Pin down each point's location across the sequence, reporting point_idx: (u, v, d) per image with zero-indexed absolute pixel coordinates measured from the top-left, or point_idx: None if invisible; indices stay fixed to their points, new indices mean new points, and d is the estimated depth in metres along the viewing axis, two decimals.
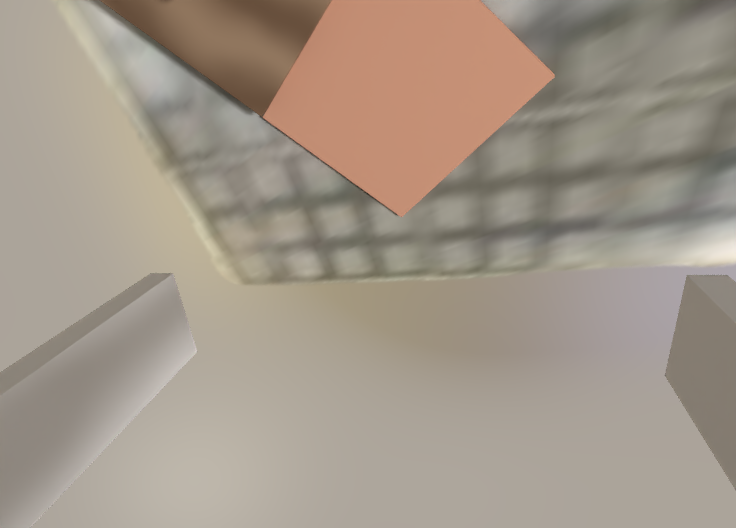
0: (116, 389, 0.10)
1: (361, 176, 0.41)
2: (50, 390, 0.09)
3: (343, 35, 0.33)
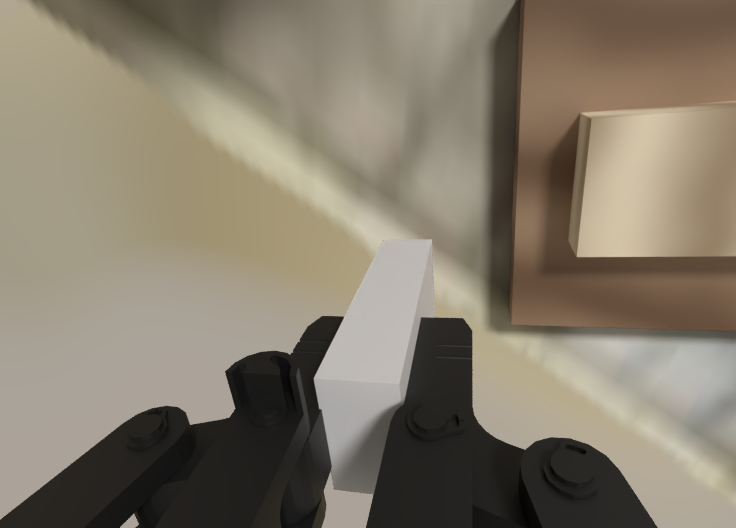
0: None
1: None
2: None
3: None
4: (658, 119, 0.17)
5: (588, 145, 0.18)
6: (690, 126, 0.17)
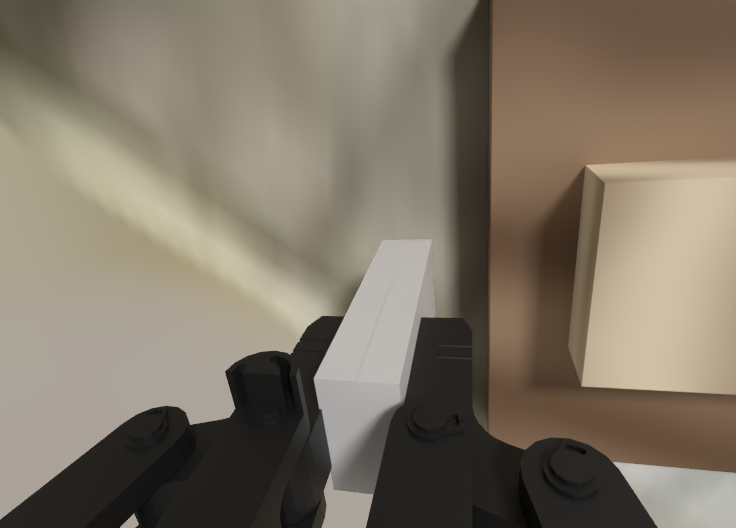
0: None
1: None
2: None
3: None
4: (721, 187, 0.10)
5: (599, 224, 0.11)
6: None
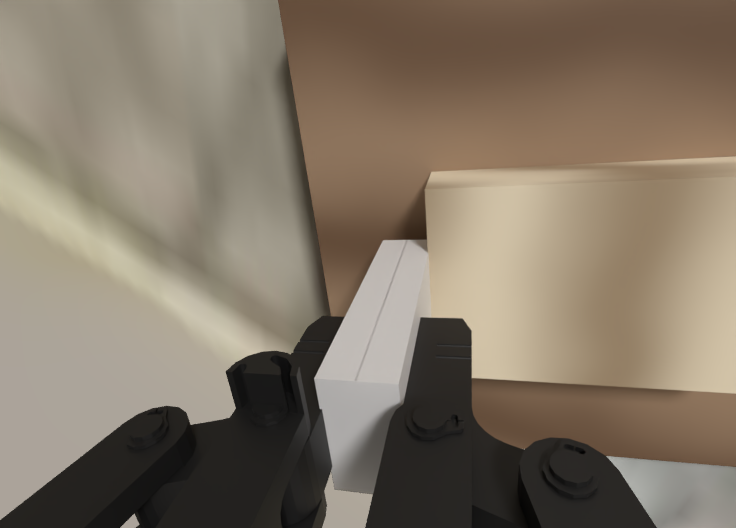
0: None
1: None
2: None
3: None
4: (521, 194, 0.11)
5: None
6: (570, 205, 0.11)
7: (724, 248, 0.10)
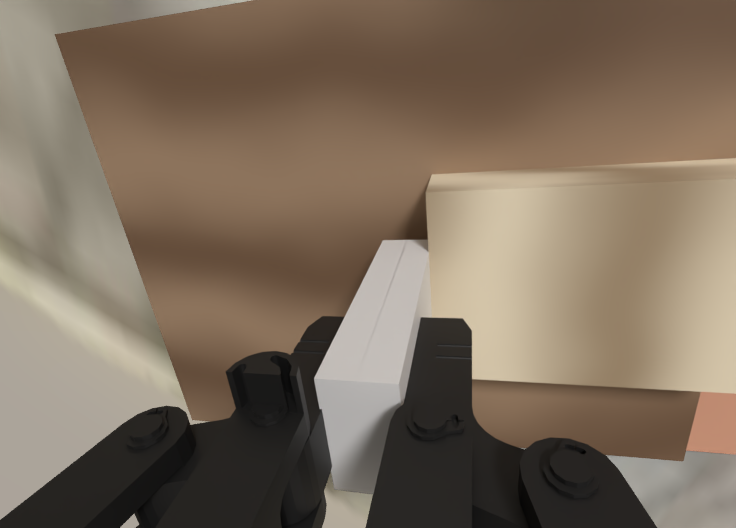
0: None
1: None
2: None
3: None
4: (521, 196, 0.11)
5: (427, 229, 0.12)
6: (569, 208, 0.11)
7: (723, 250, 0.10)
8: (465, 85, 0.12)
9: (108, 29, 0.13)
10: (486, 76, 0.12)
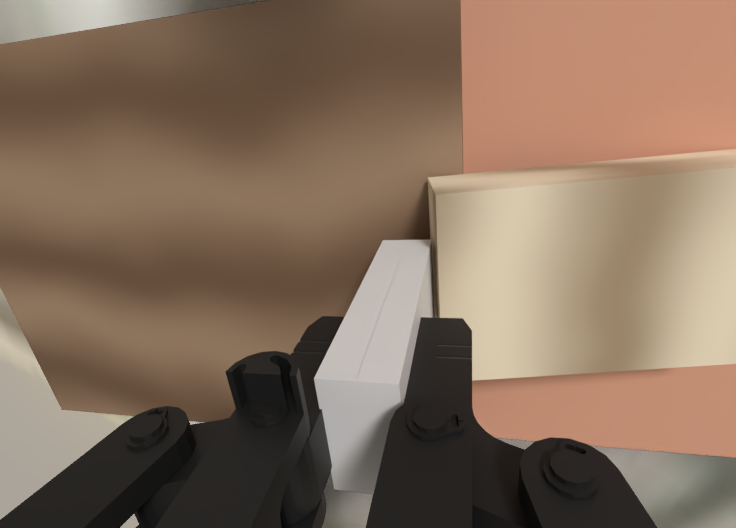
0: None
1: None
2: None
3: None
4: (530, 194, 0.11)
5: (436, 232, 0.12)
6: (574, 203, 0.11)
7: (706, 234, 0.11)
8: (222, 113, 0.14)
9: None
10: (237, 105, 0.13)
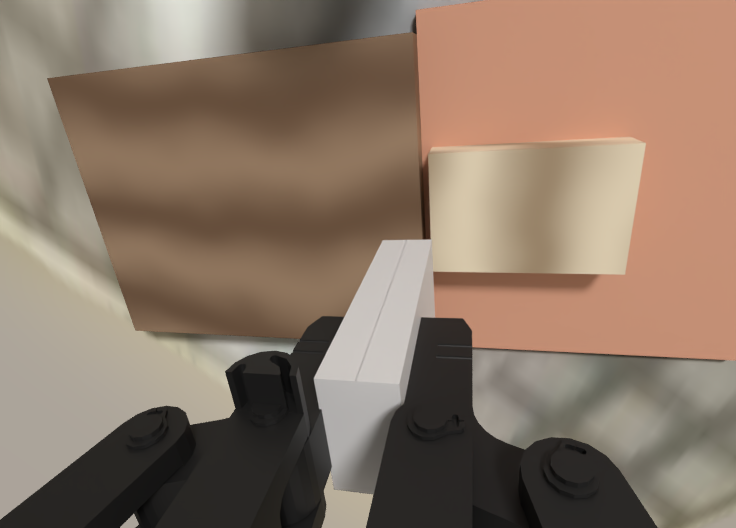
0: None
1: (617, 337, 0.24)
2: None
3: None
4: (481, 156, 0.20)
5: None
6: (507, 162, 0.19)
7: (588, 186, 0.19)
8: (269, 113, 0.22)
9: (77, 76, 0.23)
10: (278, 109, 0.21)
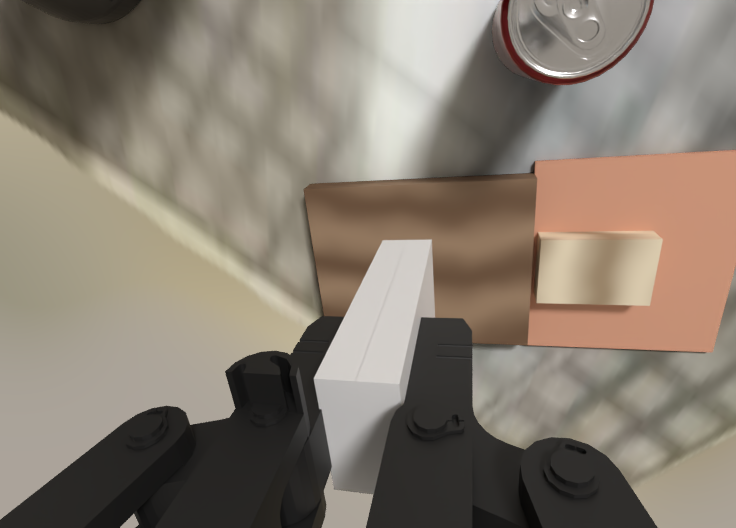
0: None
1: (642, 339, 0.40)
2: None
3: None
4: (571, 242, 0.36)
5: (540, 251, 0.37)
6: (586, 246, 0.36)
7: (631, 259, 0.35)
8: (445, 214, 0.38)
9: (324, 189, 0.39)
10: (451, 212, 0.37)
